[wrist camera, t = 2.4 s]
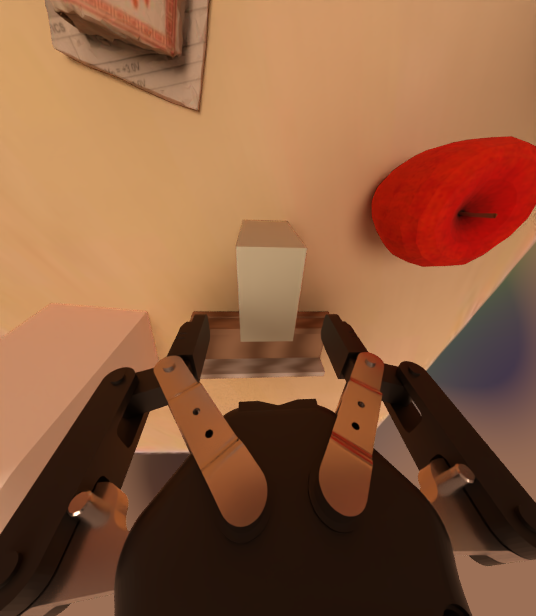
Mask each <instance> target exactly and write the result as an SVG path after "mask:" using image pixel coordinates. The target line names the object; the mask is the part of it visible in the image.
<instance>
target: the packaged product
mask: <svg viewBox="0 0 536 616" xmlns="http://www.w3.org/2000/svg"><path fill="white" fill-rule="evenodd" d="M208 3H209V0H45V6H46V9H47V12H48V18H49V24H50V29H51V39H52V44H53V46H54V49H56V50H58V51H60V52H62V53H64V54H66V55H67V56H69V57H71V58H73V59H75V60H77V61H79V62H81V63H82V64H84V65H87V66H89V67H92V68H95V69H97V70H100V71H103V72H105V73H108V74H111V75H113V76H116V77H119V78H121V79H123V80H125V81H127V82H129V83H131V84H133V85H134V86H136V87H138V88H141V89H143V90H145V91H147V92H150V93H152V94H154V95H156V96H158V97H161V98H163V99H165V100H167V101H170V102H172V103H175V104H178V105H181V106H184V107H188V108H191V109H194V110H198V111H199V106H200V97H201V89H202V80H203V70H204V60H205V50H206V38H207V13H208Z"/></svg>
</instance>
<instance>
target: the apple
mask: <svg viewBox="0 0 536 616" xmlns="http://www.w3.org/2000/svg"><path fill="white" fill-rule="evenodd" d="M535 205H536V146H534V145H532V144H530V143H528V142H525V141H523V140H520V139H517V138H514V137H512V136H510V137H490V138H480V139H470V140H464V141H459V142H453V143H450V144H447V145H443V146H440V147H436V148H433V149H430V150H426V151H424V152H422V153H420V154H418V155H416V156H414V157H412V158H411V159H409V160H408V161H406V162H404V163H403V164H401V165H400V166H399V167H397V168H396V169H394V170H393V171H392V172H391V173H390V174H389V175H388V176H387V177H386V178H385V180H384V181H383V182H382V183H381V184H380V185H379V186H378V187H377V189H376V192H375V194H374V197H373V199H372V219H373V222H374V225H375V228H376V231H377V233H378V235H379V237H380V239H381V240H382V242H383V243H384V245H385V246H386V248H387V249H388V250H389V251H390V252H391V253H392V254H393V255H395V256H397V257H399V258H400V259H403V260H405V261H407V262H409V263H412V264H416V265H419V266H423V267H426V266H451V265H464V264H466V263H468V262H470V261H472V260H474V259H476V258H478V257H480V256H482V255H484V254H485V253H487V252H488V251H489V250H491V249H492V248H493V247H495V246H496V245H497V244H499V243H500V242H502V241H503V240H505V239H506V238H508V237H509V236H510V235H511V234H512V233H513V232H514V231H515V230H516V229H517V228H518V227H519V226H520V225H521V224H522V223H523V222H524V221H525V220H526V219H527V218H528V217H529V215H530V214H531V212H532V210H533V208H534V207H535Z"/></svg>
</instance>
